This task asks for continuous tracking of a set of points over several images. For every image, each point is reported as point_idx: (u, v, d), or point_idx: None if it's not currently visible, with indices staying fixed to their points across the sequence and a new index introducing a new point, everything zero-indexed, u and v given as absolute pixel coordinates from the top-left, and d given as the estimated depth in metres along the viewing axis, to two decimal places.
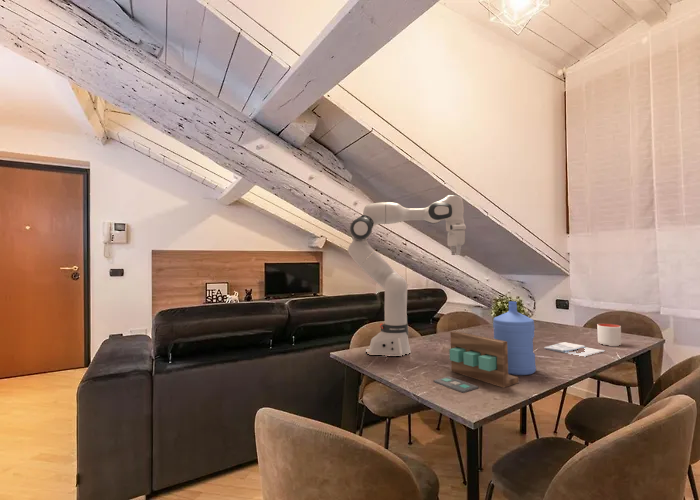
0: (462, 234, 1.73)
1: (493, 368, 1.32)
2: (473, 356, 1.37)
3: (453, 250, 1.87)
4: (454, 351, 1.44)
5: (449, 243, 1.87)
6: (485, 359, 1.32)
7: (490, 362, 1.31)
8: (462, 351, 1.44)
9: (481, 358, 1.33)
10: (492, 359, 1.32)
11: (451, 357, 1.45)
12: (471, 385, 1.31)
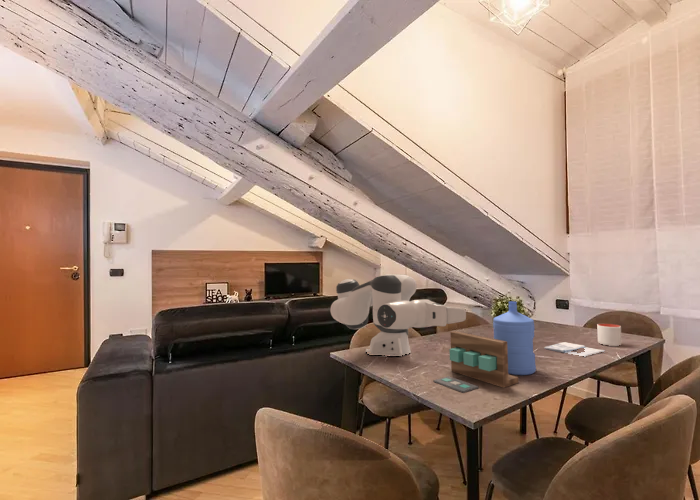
0: (455, 311, 1.12)
1: (493, 368, 1.32)
2: (473, 356, 1.37)
3: None
4: (454, 351, 1.44)
5: None
6: (485, 359, 1.32)
7: (490, 362, 1.31)
8: (462, 351, 1.44)
9: (481, 358, 1.33)
10: (492, 359, 1.32)
11: (451, 357, 1.45)
12: (471, 385, 1.31)
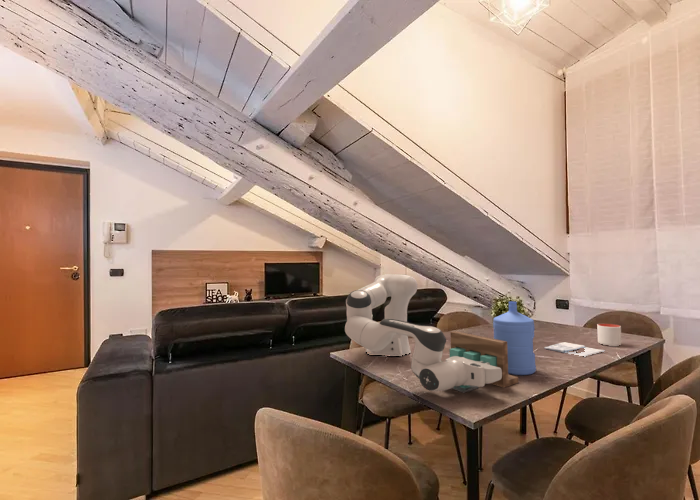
0: (492, 372, 1.19)
1: None
2: (473, 356, 1.37)
3: None
4: (454, 351, 1.44)
5: None
6: (487, 359, 1.32)
7: (492, 362, 1.31)
8: (462, 351, 1.44)
9: (483, 358, 1.34)
10: (494, 359, 1.32)
11: None
12: None
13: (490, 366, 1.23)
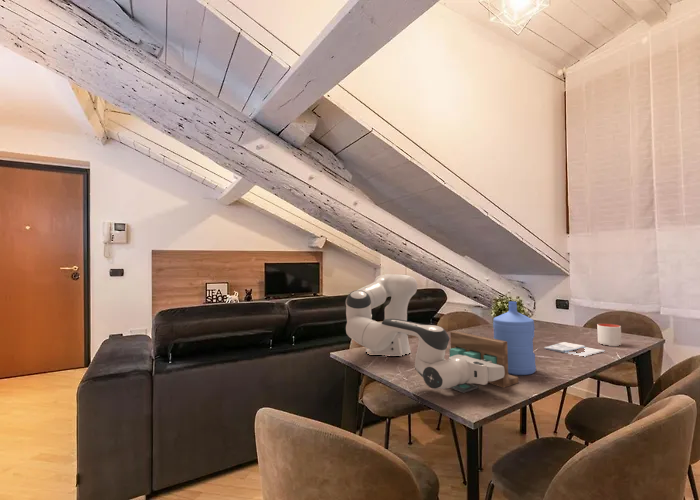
0: (495, 370, 1.21)
1: None
2: (473, 356, 1.37)
3: None
4: (454, 351, 1.44)
5: None
6: (490, 358, 1.33)
7: (495, 361, 1.33)
8: (462, 351, 1.44)
9: (486, 357, 1.35)
10: None
11: None
12: (471, 385, 1.31)
13: (493, 364, 1.25)
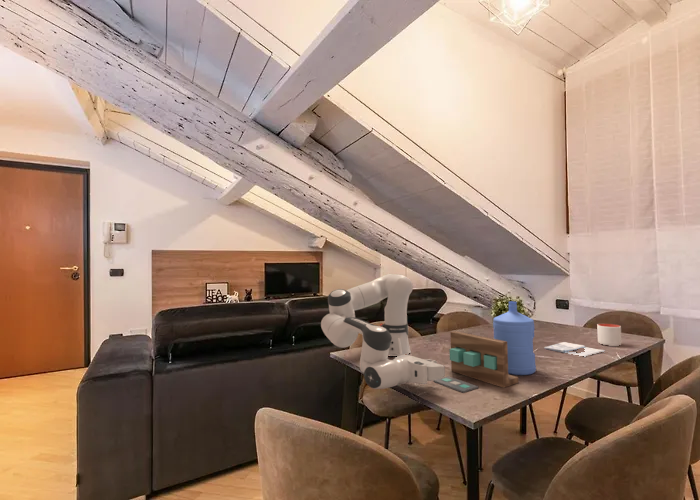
0: (435, 370, 1.23)
1: None
2: (473, 356, 1.37)
3: None
4: (454, 351, 1.44)
5: None
6: (490, 358, 1.33)
7: (495, 361, 1.33)
8: (462, 351, 1.44)
9: (486, 357, 1.35)
10: None
11: (451, 357, 1.45)
12: (471, 385, 1.31)
13: (434, 364, 1.27)
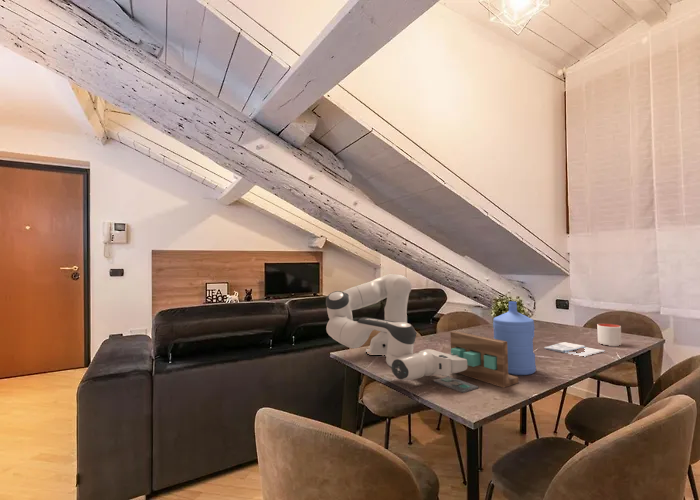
0: (458, 363, 1.31)
1: None
2: (473, 356, 1.37)
3: None
4: (455, 351, 1.44)
5: None
6: (490, 358, 1.33)
7: (495, 361, 1.33)
8: (463, 351, 1.44)
9: (486, 357, 1.35)
10: None
11: None
12: (471, 385, 1.31)
13: (457, 358, 1.35)
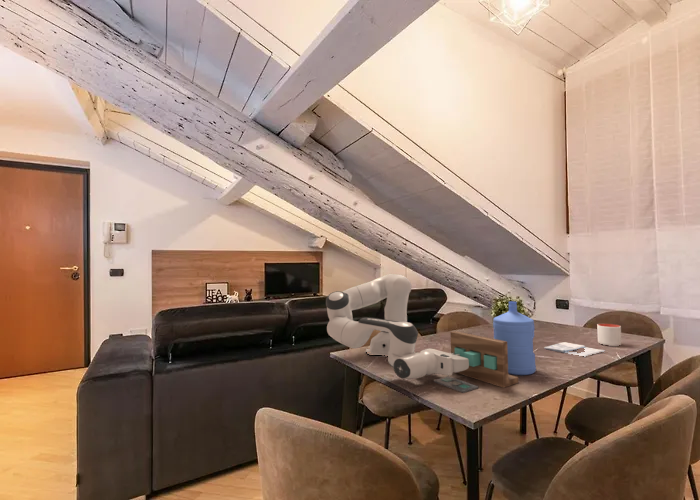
0: (460, 362, 1.31)
1: None
2: (473, 356, 1.37)
3: None
4: (459, 350, 1.45)
5: None
6: (490, 358, 1.33)
7: (495, 361, 1.33)
8: None
9: (486, 357, 1.35)
10: None
11: None
12: (471, 385, 1.31)
13: (459, 357, 1.36)
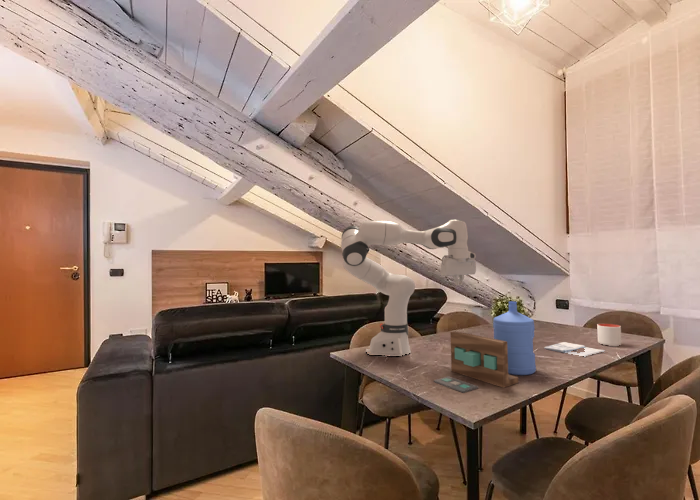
0: None
1: None
2: (473, 356, 1.37)
3: None
4: (459, 350, 1.45)
5: (454, 272, 1.63)
6: (490, 358, 1.33)
7: (495, 361, 1.33)
8: None
9: (486, 357, 1.35)
10: None
11: (456, 355, 1.47)
12: (471, 385, 1.31)
13: None
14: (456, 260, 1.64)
